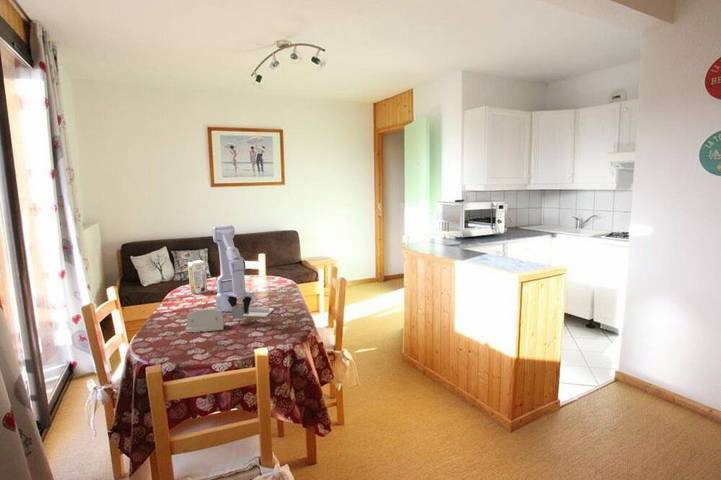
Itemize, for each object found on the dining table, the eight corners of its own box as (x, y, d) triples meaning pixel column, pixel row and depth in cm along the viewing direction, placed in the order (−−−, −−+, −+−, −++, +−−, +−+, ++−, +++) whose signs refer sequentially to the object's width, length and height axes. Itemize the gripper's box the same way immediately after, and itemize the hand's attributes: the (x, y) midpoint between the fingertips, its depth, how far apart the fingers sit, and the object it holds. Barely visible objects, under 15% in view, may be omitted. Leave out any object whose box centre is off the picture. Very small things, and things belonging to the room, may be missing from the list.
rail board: (239, 316, 202) (238, 311, 201) (248, 308, 212) (248, 304, 212) (265, 317, 199) (265, 312, 199) (274, 309, 210) (273, 305, 210)
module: (232, 318, 190) (231, 307, 189) (239, 313, 197) (238, 302, 196) (242, 318, 189) (241, 307, 188) (249, 313, 196) (248, 302, 195)
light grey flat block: (184, 333, 182) (184, 310, 183) (187, 332, 186) (186, 310, 188) (224, 329, 185) (223, 307, 187) (225, 329, 189) (224, 307, 191)
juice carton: (209, 291, 247) (206, 260, 244) (196, 295, 240) (193, 263, 237) (201, 289, 251) (198, 259, 248) (189, 293, 244) (185, 262, 241)
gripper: (220, 286, 188) (222, 314, 190) (249, 287, 185) (251, 315, 188) (227, 282, 195) (229, 309, 197) (256, 282, 192) (257, 310, 195)
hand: (240, 312), depth 193 cm, fingers closed on module, 5 cm apart
